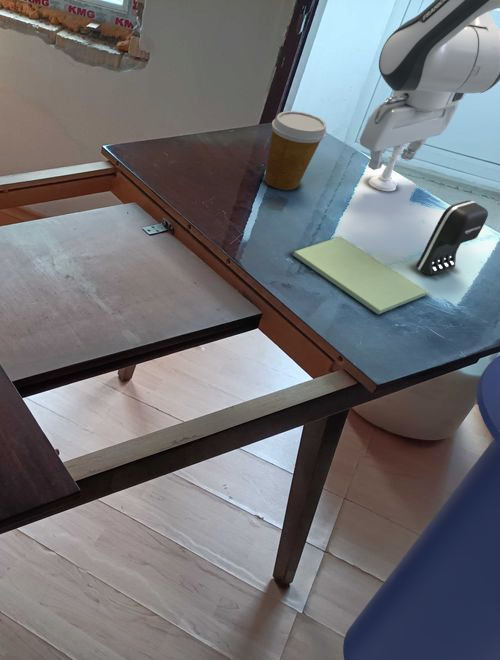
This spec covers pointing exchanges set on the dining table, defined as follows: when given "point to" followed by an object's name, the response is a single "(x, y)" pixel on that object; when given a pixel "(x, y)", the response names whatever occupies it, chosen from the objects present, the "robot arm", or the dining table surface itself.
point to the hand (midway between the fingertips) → (390, 163)
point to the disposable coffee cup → (292, 148)
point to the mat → (360, 274)
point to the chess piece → (387, 172)
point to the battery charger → (451, 236)
